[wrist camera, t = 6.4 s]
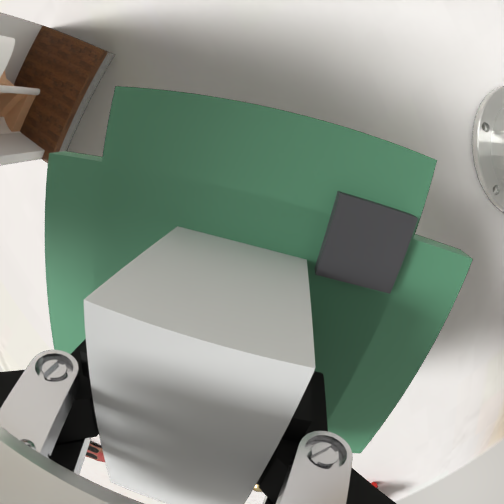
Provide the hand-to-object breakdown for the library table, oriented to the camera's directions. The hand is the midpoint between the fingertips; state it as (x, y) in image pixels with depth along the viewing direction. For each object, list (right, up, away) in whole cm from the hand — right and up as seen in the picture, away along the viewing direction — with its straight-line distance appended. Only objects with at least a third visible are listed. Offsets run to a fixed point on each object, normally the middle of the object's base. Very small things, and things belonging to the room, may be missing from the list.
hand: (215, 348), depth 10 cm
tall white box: (-19, +19, +14) cm, 30 cm away
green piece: (0, +1, +1) cm, 2 cm away
